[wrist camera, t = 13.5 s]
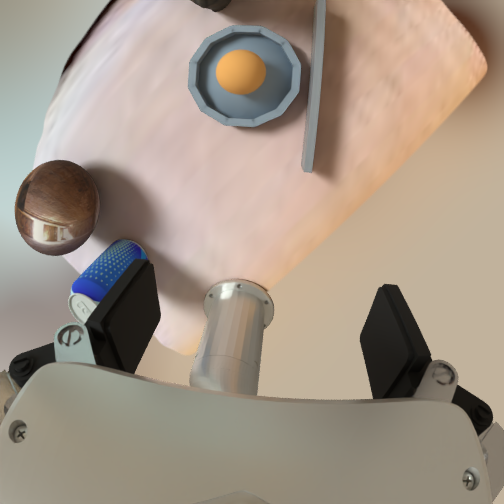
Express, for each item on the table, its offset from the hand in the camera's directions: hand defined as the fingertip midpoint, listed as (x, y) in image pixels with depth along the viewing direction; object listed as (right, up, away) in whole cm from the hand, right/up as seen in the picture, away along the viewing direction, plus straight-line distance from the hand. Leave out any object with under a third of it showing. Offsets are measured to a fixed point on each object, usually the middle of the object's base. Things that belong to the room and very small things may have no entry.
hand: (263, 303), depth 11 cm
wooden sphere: (-30, +13, +31) cm, 45 cm away
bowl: (-1, +25, +21) cm, 33 cm away
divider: (+8, +24, +20) cm, 33 cm away
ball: (-2, +23, +17) cm, 29 cm away
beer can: (-22, +1, +37) cm, 43 cm away
